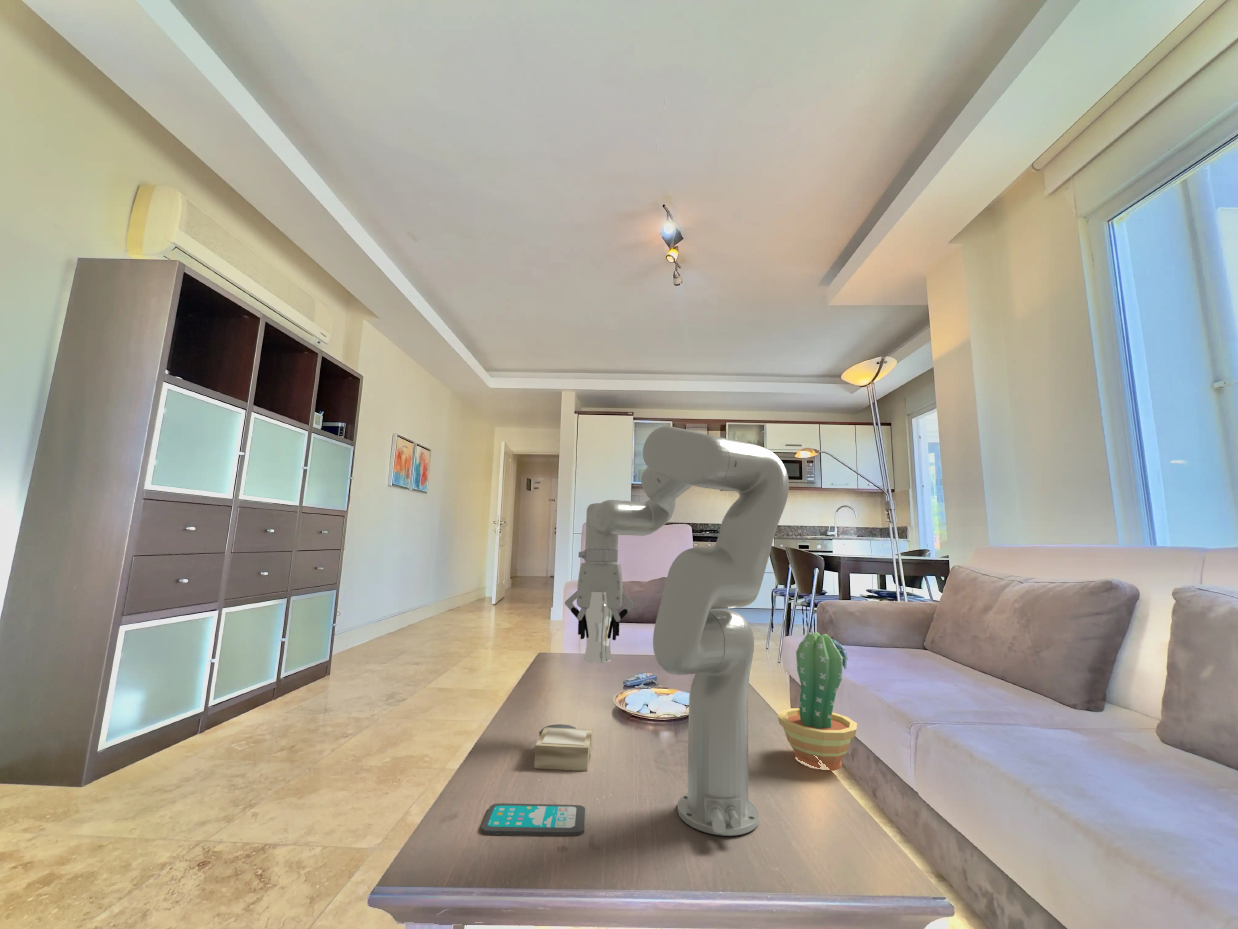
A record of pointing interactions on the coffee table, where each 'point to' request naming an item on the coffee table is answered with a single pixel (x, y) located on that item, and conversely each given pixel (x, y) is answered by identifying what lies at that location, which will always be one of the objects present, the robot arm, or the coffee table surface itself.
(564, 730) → the oak plinth
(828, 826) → the coffee table surface
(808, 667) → the potted cactus
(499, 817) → the smartphone
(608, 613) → the beer glass
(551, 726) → the rubber coaster
